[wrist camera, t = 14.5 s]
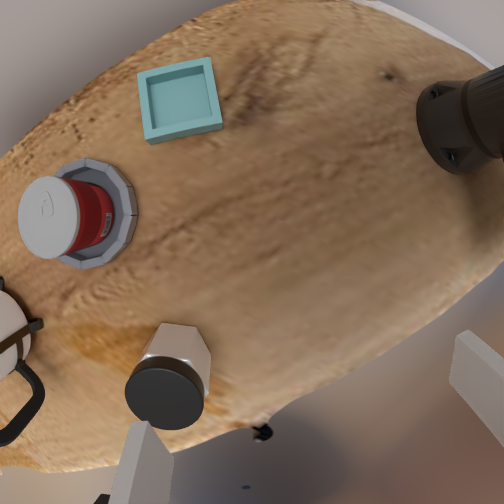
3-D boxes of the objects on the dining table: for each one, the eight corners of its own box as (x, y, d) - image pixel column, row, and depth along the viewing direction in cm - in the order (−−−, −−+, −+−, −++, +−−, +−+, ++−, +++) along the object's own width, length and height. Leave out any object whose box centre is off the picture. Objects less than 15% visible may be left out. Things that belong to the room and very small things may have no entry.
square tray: (210, 67, 34) (210, 56, 31) (222, 129, 35) (222, 122, 32) (142, 82, 33) (137, 73, 30) (151, 144, 35) (145, 139, 32)
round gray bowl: (128, 150, 35) (121, 146, 32) (147, 252, 37) (141, 256, 34) (45, 178, 34) (33, 177, 31) (62, 271, 36) (51, 276, 33)
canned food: (104, 172, 34) (62, 161, 23) (125, 231, 35) (89, 240, 25) (57, 198, 34) (8, 197, 23) (77, 254, 35) (32, 271, 24)
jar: (145, 371, 39) (123, 423, 27) (145, 318, 38) (118, 360, 26) (208, 380, 40) (205, 436, 28) (213, 327, 39) (210, 374, 27)
